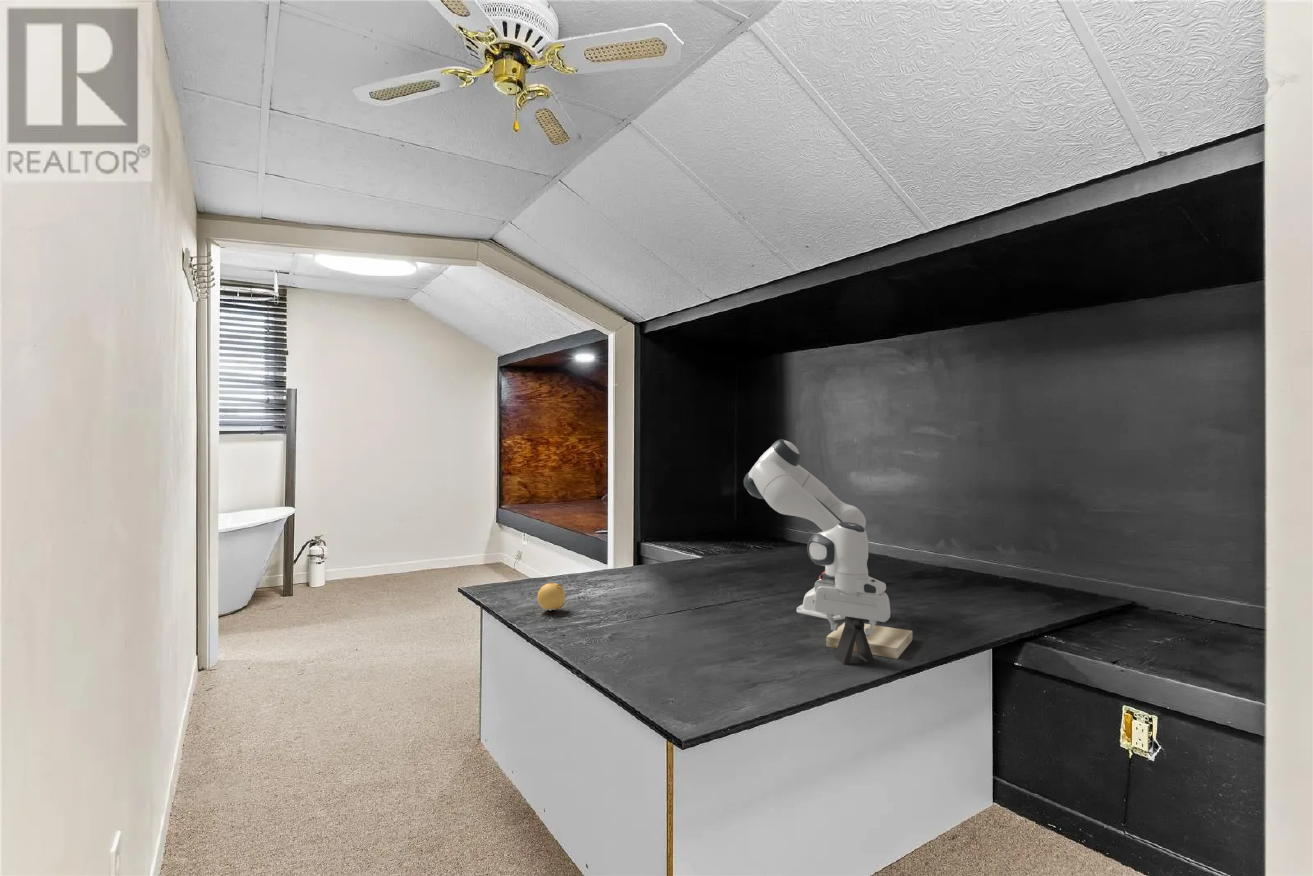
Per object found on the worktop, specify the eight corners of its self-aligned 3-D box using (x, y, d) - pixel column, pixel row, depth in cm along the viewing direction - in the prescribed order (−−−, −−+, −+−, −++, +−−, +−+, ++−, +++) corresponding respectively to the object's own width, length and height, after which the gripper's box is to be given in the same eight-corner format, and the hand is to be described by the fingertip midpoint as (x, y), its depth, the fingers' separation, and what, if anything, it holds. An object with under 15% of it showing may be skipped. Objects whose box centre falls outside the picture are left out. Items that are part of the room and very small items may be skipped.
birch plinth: (826, 646, 190) (826, 636, 190) (846, 630, 207) (846, 620, 207) (897, 659, 179) (897, 648, 179) (912, 640, 196) (912, 630, 196)
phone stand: (864, 656, 181) (864, 613, 181) (874, 663, 175) (874, 619, 175) (834, 657, 180) (834, 614, 180) (843, 665, 174) (843, 620, 174)
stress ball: (562, 614, 225) (563, 585, 225) (534, 614, 225) (534, 585, 225) (567, 607, 235) (567, 579, 235) (540, 607, 235) (540, 579, 235)
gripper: (810, 579, 181) (810, 629, 181) (886, 589, 170) (886, 642, 170) (818, 576, 186) (818, 624, 186) (892, 584, 175) (891, 636, 175)
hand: (851, 632), depth 178 cm, fingers open, 8 cm apart
